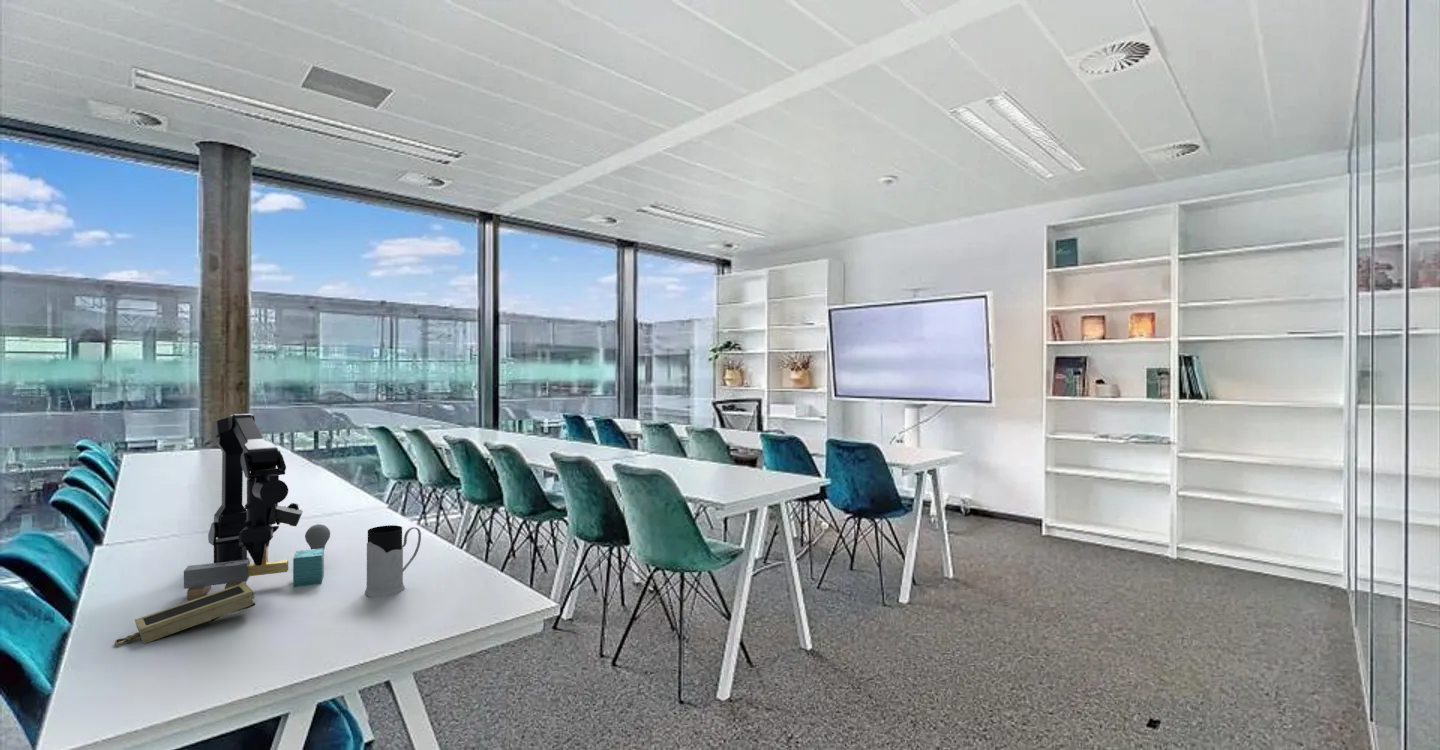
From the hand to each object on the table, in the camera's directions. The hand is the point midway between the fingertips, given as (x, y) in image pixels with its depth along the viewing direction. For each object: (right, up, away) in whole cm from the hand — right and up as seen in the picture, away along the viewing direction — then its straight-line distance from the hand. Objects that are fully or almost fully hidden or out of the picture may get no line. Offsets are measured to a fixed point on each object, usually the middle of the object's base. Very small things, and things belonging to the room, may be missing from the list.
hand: (261, 561), depth 159 cm
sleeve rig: (-1, -6, 0) cm, 6 cm away
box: (+2, -7, -25) cm, 26 cm away
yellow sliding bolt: (-4, -3, -2) cm, 5 cm away
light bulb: (0, -6, +22) cm, 23 cm away
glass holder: (+32, -7, +1) cm, 33 cm away
